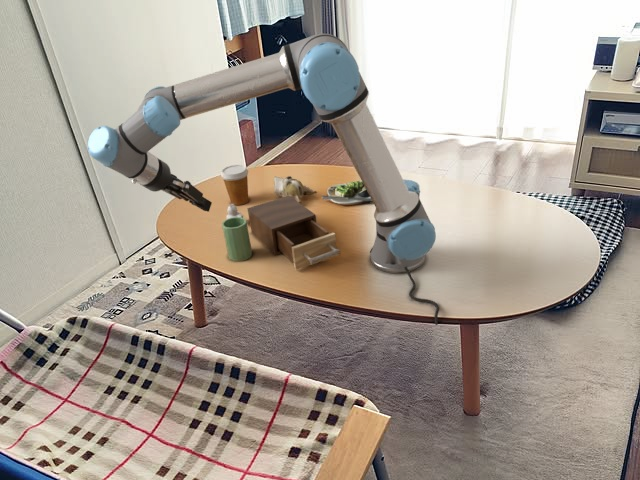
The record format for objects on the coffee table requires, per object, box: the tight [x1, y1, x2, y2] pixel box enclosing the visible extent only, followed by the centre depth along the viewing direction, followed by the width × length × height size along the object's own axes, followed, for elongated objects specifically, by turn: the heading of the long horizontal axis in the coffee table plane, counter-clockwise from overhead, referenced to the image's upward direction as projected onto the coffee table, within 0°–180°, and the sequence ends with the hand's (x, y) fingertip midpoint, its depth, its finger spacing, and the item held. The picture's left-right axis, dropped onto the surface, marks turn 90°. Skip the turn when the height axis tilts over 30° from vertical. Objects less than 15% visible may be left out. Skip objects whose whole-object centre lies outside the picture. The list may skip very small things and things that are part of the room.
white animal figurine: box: [225, 202, 244, 220], centre depth 185 cm, size 5×7×8 cm
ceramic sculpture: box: [273, 175, 318, 204], centre depth 197 cm, size 11×9×15 cm
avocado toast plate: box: [321, 180, 373, 206], centre depth 195 cm, size 19×18×5 cm
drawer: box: [275, 219, 341, 271], centre depth 163 cm, size 23×14×7 cm, turn 29°
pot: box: [221, 217, 253, 262], centre depth 167 cm, size 7×7×11 cm
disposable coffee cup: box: [220, 164, 249, 206], centre depth 198 cm, size 10×10×12 cm
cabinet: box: [246, 195, 317, 256], centre depth 175 cm, size 18×15×9 cm
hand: (207, 206), depth 152 cm, fingers closed
